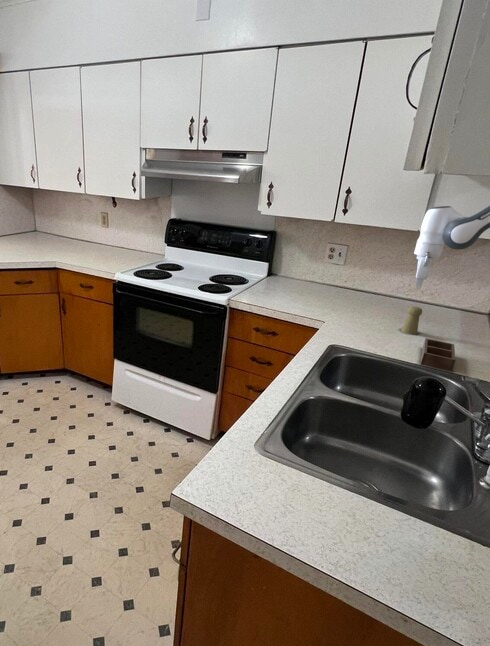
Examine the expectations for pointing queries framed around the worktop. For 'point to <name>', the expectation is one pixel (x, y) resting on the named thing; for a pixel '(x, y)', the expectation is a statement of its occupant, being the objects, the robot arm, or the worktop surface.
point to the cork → (412, 320)
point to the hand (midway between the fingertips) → (418, 286)
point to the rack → (438, 355)
